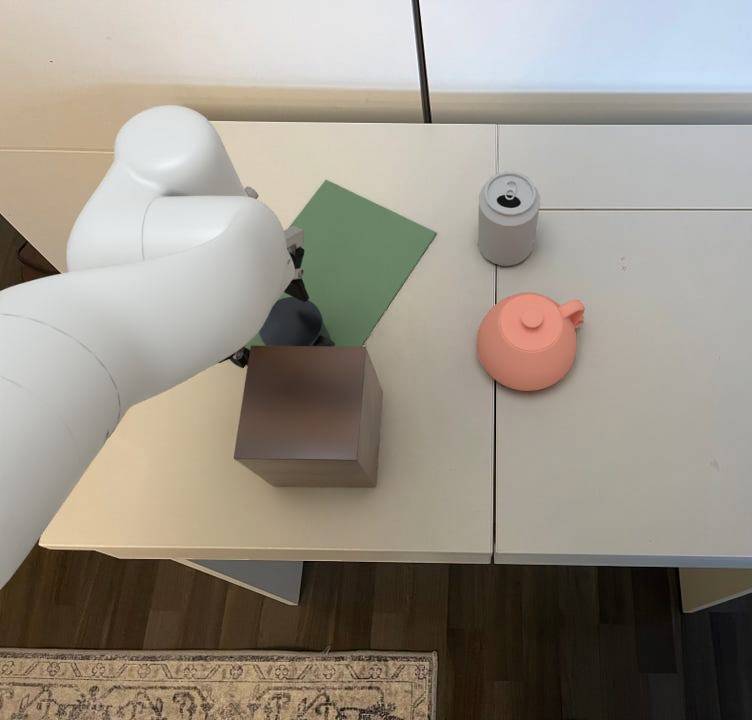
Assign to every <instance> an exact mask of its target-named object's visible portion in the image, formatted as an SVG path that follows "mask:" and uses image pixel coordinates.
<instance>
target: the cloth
mask: <svg viewBox="0 0 752 720" xmlns="http://www.w3.org/2000/svg"><path fill="white" fill-rule="evenodd" d="M292 226H295V227H297V228H299V229H301V230H303V231H304V242H303V245H302V248H303V249H304V256H303V260H302V264H301V268H302V269H304V274H303V276H302V277H301V278H302V280H303V282H304V284H305V289H306V291H307V293H308V296H309V299H308V300H309V301H311V302H312V303H313V304H315V305H316V306H317V308H318V309H319V311H320V313H321V315H322V318H323V323H324V325H325V327H326V329H327V331H328V333H329V335H330V338H331V341H333V342H334V343H335V346H334V347H363V345H364V344H365V342H366V341H367V339H368V338H369V337H370V335H371V333H372V332H373V330H374V329H375V327H376V326H377V324H378V323H379V321H380V320H381V318H382V317H383V316H384V314H385V312H386V311H387V309H388V308H389V306H390V305H391V304H392V302H393V300H394V299H395V297H396V296H397V294H398V293H399V292H400V290H401V288H402V287H403V285H404V284H405V282H406V281H407V279H408V278H409V276H410V275H411V273H412V272H413V271H414V269H415V267H416V265H417V264H418V263H419V262H420V260H421V258H422V257H423V255H424V254H425V253H426V251H427V250H428V248H429V246H430V245H431V244H432V243H433V241H434V239H435V238H436V236H437V235H438V232H437V231H434V230H432V229H430V228H428V227H426V226H424V225H422V224H420V223H418V222H416V221H414V220H411V219H409V218H408V217H406V216H404V215H401V214H399V213H397V212H395V211H393V210H391V209H389V208H386V207H384V206H383V205H380V204H378V203H376V202H373V201H372V200H370V199H367V198H366V197H363V196H361V195H359V194H357V193H355V192H353V191H352V190H349V189H347V188H345V187H343V186H340V185H338V184H337V183H335V182H332V181H330V180H328V179H324V181H323V182H322V184H321V185H320V187H318V189H317V190H316V191H315V192H314V194H313V196H312V197H311V198H310V200H309V201H308V202H307V203H306V204H305V206H304V207H303V208H302V210H301V211H300V212H299V213H298V214H297V216H296V217H295V219H294V220H293V221H292V222H291V224H290V225H289V227H288V228H290V227H292ZM287 297H292V296H290V295H288V294H286V293H285V292H283V293H282V295H281V296H280V297H279V299H278V300H280V299H283V298H287ZM278 300H277V301H278ZM251 345H257V346H266V345H265V344H264V343H263V341H262V339H261V337H260V334H259V332H258V333H257V334H256V335H255V336H254V337H253V338H252V339H251V340H250V341H249V342H248V343H247V344H246V345H245V348H247V349H249V350H250V347H251Z"/></svg>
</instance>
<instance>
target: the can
mask: <svg viewBox="0 0 752 720" xmlns="http://www.w3.org/2000/svg"><path fill="white" fill-rule="evenodd" d="M540 207H541V196H540V193H539V190H538V188H537V187H536V186H535V184H534V182H533V181H532V180H531V179H530V178H529V177H528V176H526V175H525V174H524V173H522V172H518V171H515V170H513V171H511V170H510V171H509V170H506V171H501V172H498V173H496V174H494V175H493V176H491V177H490V178H489V179H488V180H487V181H486V183H484V185H483V186H482V187H481V189H480V192H479V194H478V225H477V226H478V229H477V230H478V231H477V246H478V249H479V251H480V253H481V254H482V256H483V257H484V258H485V259H486V260H487V261H489V262H491V263H493V264H496V265H499V266H509V267H510V266H513V265H518V264H520V263H521V262H523V261H525V260H526V259H527V258H528V257H529V255H530V254H532V250H533V247H534V243H535V237H536V231H537V224H538V220H539V213H540Z"/></svg>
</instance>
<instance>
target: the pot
mask: <svg viewBox="0 0 752 720" xmlns="http://www.w3.org/2000/svg"><path fill="white" fill-rule="evenodd" d="M259 334H260V337H261V339H262V341H263V343H264V344H265V345H266V346H328V347H334V346H335V343H334V342H333V341H331V338H330V335H329V333H328V331H327V329H326V327H325V325H324V323H323V318H322V315H321V313H320V311H319V309H318V308H317V306H316V305H315V304H313V303H312V302H311V301H309V300H307V302H306V301H305V302H303V301H301V300H298V299H296V298H294V297H287V298H283V299H280V300H278V301H276V303H275V304H274V305H273V307H272V309H271V311H270V313H269V315H268V317H267V319H266V321H265V323H264V325H263V326H262V328H261V329H260V330H259Z"/></svg>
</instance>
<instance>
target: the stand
mask: <svg viewBox="0 0 752 720" xmlns="http://www.w3.org/2000/svg"><path fill="white" fill-rule="evenodd" d="M243 387H244V388H243V394H242V401H241V405H240V406H241V407H240V412H239V413H240V414H239V418H238V419H239V420H238V427H237V432H236V440H235V446H234V453H233V459H234V461H236V462H237V463H239V464H240V465H241V466H243V467H245V468H246V469H247V470H249V471H251V472H252V473H254V474H255V475H256V476H257V477H259V478H261V480H263V481H264V482H266V483H267V484H269V485H271V486H272V487H275V488H276V487H279V488H348V489H349V488H353V489H354V488H357V489H361V488H363V489H364V488H365V489H372V488H373V489H376V488H377V481H378V466H379V453H380V439H381V438H380V437H381V423H382V407H383V395H384V392H383V389H382V385H381V383H380V380H379V378H378V375H377V372H376V369H375V367H374V364H373V362H372V359H371V356H370V354H369V351H368V348H367V347H366V346H362V347H328V346H257V345H251V347H250V354H249V360H248V366H246V375H245V381H244V386H243Z"/></svg>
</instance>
